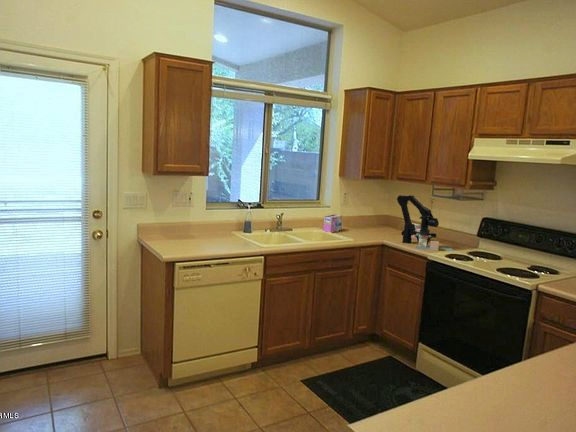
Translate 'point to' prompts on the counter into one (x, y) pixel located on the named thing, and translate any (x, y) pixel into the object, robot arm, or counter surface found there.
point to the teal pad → (447, 248)
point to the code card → (424, 247)
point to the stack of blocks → (418, 231)
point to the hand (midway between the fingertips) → (422, 244)
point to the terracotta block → (434, 245)
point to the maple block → (422, 242)
